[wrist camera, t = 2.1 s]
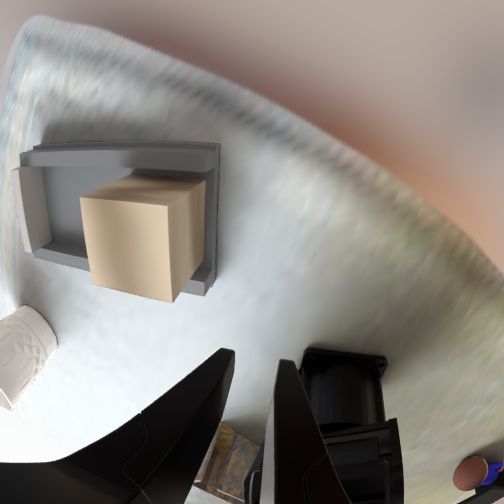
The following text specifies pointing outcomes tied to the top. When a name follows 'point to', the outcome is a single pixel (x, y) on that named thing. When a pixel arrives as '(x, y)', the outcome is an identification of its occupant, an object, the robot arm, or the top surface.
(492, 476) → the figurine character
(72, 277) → the top surface
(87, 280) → the top surface
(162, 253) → the birch block
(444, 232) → the top surface
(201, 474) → the brown piece
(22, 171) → the chute
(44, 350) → the white cup
